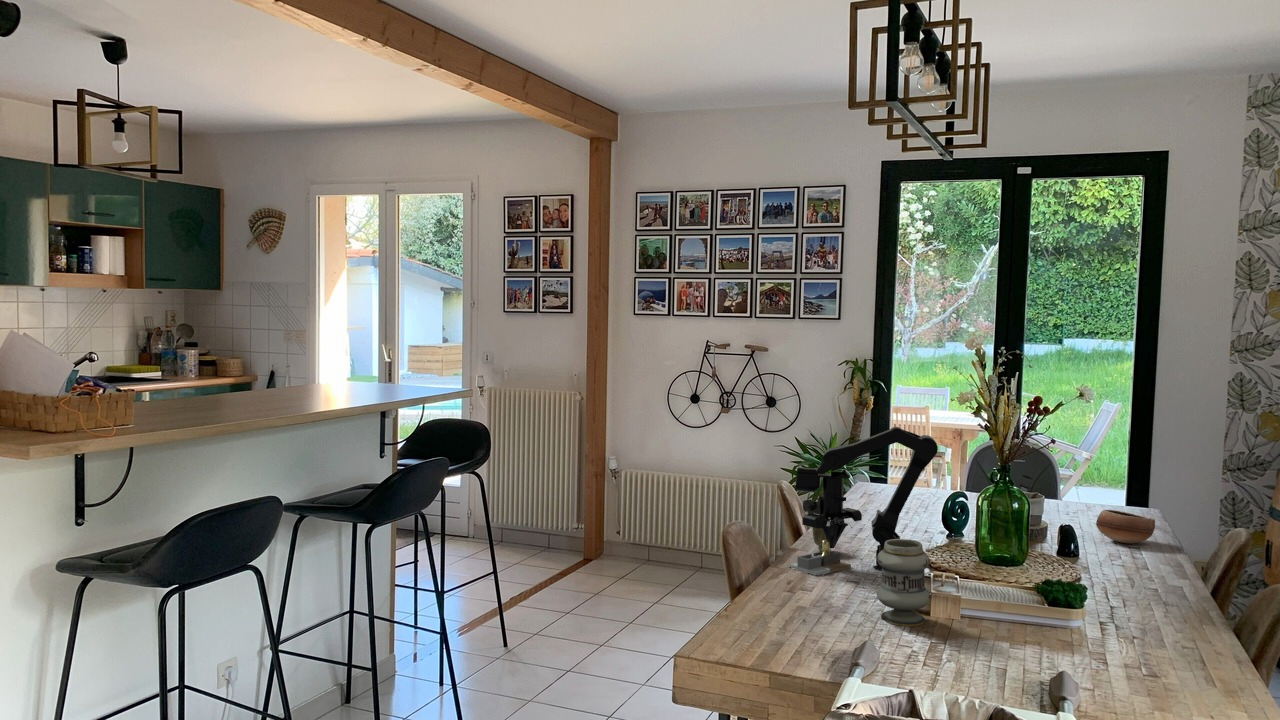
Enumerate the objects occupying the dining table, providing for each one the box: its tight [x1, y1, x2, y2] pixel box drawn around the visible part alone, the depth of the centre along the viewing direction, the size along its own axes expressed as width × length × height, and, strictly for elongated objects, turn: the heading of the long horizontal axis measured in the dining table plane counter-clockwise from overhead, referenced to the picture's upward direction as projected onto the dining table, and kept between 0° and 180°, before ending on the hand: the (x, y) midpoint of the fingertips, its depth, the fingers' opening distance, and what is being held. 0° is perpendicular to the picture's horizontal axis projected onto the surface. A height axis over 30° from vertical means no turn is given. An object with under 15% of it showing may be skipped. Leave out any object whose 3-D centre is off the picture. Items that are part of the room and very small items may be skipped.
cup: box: [811, 527, 832, 552], centre depth 283 cm, size 8×7×8 cm
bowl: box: [1095, 509, 1156, 544], centre depth 296 cm, size 16×16×10 cm
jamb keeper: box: [788, 553, 831, 576], centre depth 262 cm, size 10×6×4 cm, turn 37°
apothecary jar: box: [876, 538, 931, 627], centre depth 220 cm, size 12×12×18 cm
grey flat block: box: [813, 549, 852, 573], centre depth 266 cm, size 10×8×4 cm
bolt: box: [810, 540, 830, 565], centre depth 265 cm, size 2×6×6 cm, turn 127°
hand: (831, 548), depth 267 cm, fingers closed
